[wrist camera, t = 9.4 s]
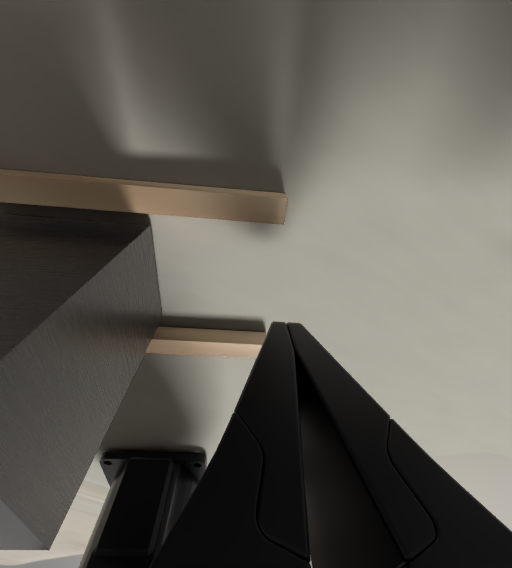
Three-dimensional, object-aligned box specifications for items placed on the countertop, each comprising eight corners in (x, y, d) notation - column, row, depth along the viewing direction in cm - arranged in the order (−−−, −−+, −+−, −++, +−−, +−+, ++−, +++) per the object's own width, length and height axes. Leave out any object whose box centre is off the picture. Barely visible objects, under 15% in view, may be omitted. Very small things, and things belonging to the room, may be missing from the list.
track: (264, 345, 12) (265, 358, 11) (-9, 331, 11) (-27, 344, 10) (285, 193, 8) (288, 198, 8) (-107, 159, 8) (-142, 162, 7)
